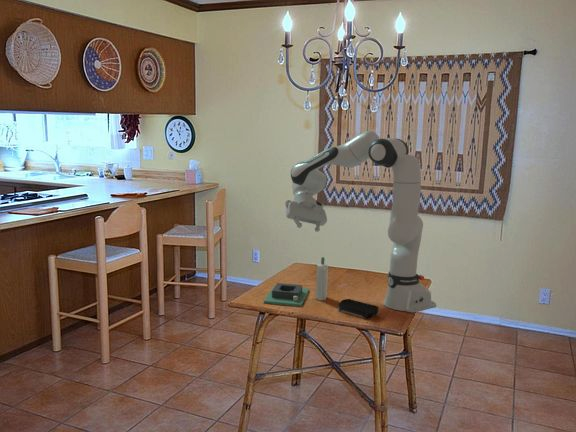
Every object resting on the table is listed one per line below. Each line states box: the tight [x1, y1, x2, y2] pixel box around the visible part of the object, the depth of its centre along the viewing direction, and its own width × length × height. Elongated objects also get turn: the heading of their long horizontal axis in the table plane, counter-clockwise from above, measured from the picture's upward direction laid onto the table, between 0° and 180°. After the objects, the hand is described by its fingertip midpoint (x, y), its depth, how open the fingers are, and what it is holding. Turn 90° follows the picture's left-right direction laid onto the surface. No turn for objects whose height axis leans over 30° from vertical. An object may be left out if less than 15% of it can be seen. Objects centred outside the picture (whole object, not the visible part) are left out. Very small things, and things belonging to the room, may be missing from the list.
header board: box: [263, 282, 310, 307], centre depth 229 cm, size 22×16×4 cm
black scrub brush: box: [337, 298, 379, 320], centre depth 212 cm, size 16×8×4 cm, turn 52°
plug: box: [315, 256, 329, 301], centre depth 227 cm, size 5×4×18 cm
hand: (308, 229), depth 233 cm, fingers open, 8 cm apart
